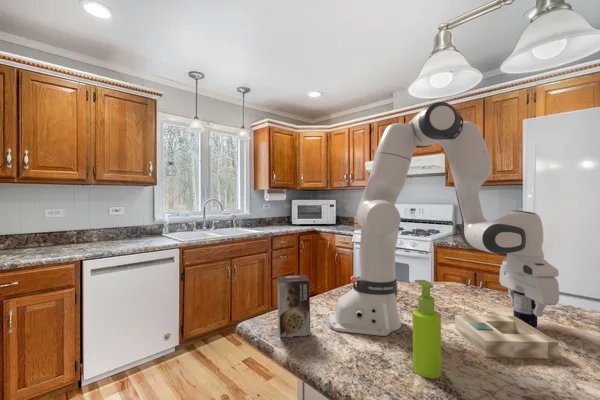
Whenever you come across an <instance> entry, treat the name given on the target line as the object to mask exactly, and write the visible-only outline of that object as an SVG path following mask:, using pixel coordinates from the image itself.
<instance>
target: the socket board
mask: <svg viewBox="0 0 600 400" xmlns="http://www.w3.org/2000/svg"><path fill="white" fill-rule="evenodd" d="M454 326H455V327H454V328H455V330H456V331H458V332H459V333H460V335H461V336H463V338H465V339H466V340H467V341H468V342H469V343H470V344H471V345H472V346H473V347H474V348H476V349H477V351H479V352H480V353H481V354H482V355H483V356H484V357H485V358H504V359H505V358H506V359H507V358H508V359H509V358H510V359H511V358H512V359H543V360H544V359H547V360H550V359H552V360H560V352H559V349H560V347H559V346H560V343H559V341H557V340H556V339H554V338H552V337H550V336H549V335H548V334H546V333H543V332H541V331H540V330H539V329H537V328H534V327H532V326H530V325H528V324H527V323H525V322H523V321H522V320H520V319H518V318H517V317H515V316H514V315H486V314H485V315H475V314H469V315H468V314H455V315H454Z"/></svg>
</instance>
